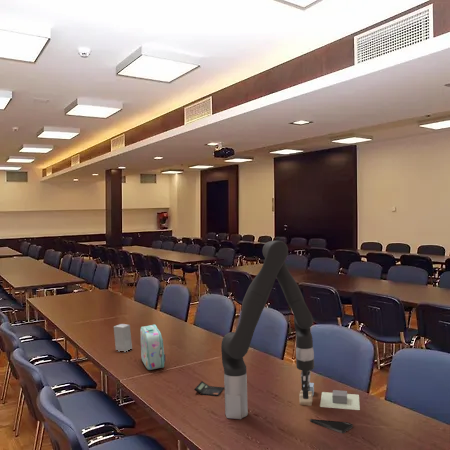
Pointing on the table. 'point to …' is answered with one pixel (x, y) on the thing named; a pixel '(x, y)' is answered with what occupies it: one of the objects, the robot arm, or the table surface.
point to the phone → (333, 425)
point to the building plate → (351, 403)
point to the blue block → (311, 388)
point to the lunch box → (152, 347)
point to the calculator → (208, 389)
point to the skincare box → (122, 337)
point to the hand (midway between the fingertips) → (306, 394)
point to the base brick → (339, 396)
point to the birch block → (305, 401)
